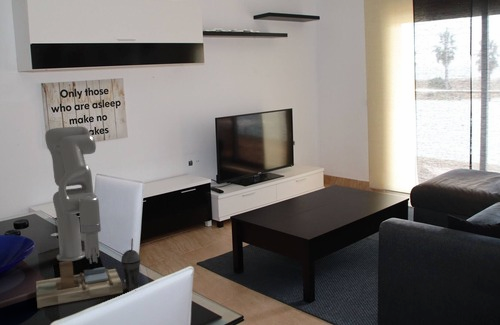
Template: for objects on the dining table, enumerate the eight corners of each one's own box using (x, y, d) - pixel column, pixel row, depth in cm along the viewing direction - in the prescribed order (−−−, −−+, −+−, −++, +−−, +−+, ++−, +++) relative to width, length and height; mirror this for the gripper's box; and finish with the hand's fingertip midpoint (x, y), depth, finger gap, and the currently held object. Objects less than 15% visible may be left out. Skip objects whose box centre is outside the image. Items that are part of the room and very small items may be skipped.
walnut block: (61, 287, 198) (59, 262, 196) (73, 285, 199) (71, 260, 198) (62, 291, 194) (59, 266, 192) (74, 289, 195) (72, 264, 194)
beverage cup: (119, 289, 199) (115, 239, 196) (135, 284, 204) (132, 235, 201) (129, 294, 194) (126, 243, 191) (146, 289, 199) (143, 238, 196)
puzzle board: (37, 289, 201) (36, 279, 200) (115, 276, 212) (115, 267, 211) (37, 308, 184) (36, 297, 184) (123, 293, 196) (122, 282, 195)
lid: (83, 276, 204) (83, 270, 203) (105, 272, 207) (105, 266, 206) (85, 283, 196) (85, 277, 195) (108, 279, 199) (108, 274, 199)
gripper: (79, 224, 209) (82, 267, 212) (82, 234, 196) (86, 280, 199) (98, 222, 212) (101, 264, 215) (103, 231, 199) (106, 277, 201)
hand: (94, 272), depth 207 cm, fingers closed
